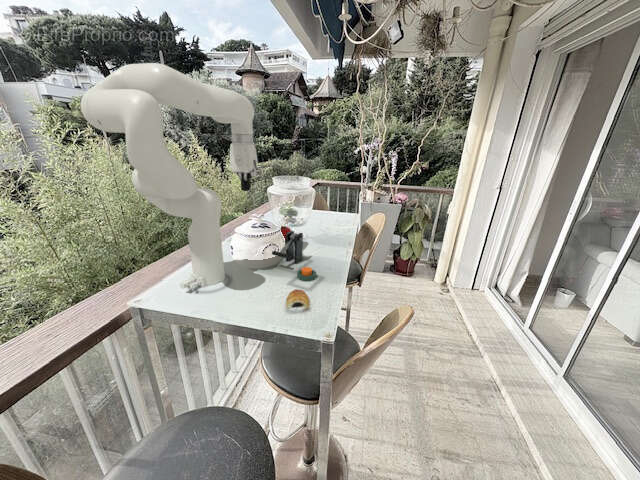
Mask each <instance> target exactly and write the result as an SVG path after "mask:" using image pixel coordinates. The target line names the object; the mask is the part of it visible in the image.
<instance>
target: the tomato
mask: <svg viewBox="0 0 640 480" xmlns="http://www.w3.org/2000/svg"><path fill="white" fill-rule="evenodd" d="M280 227H281V232H282V234H283V236H284V238H285V241H284V242H286V233H288V232H290V231H292V230H291V228H289V227H288V226H287V225H286V226H284V225H282V226H280Z"/></svg>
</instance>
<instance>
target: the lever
mask: <svg viewBox="0 0 640 480" xmlns="http://www.w3.org/2000/svg"><path fill="white" fill-rule="evenodd" d="M297 234H298V233H296V232H294V233H292V235H291V236H290V237H289V238H290V240H289V242H288V243H287V244H286V243H285V245H283V247H282V249H280V250H279V251H276V250H272V252H271V255H272V256H276V257H280V258H284V259H286V258H287V257H288V254H286V250H287V249H288V247H289V246H290V245H291V244H292V243H294V236H295V235H297Z"/></svg>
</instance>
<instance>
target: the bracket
mask: <svg viewBox="0 0 640 480" xmlns="http://www.w3.org/2000/svg"><path fill="white" fill-rule="evenodd" d="M292 233H295V231H294V230H291V231H290V232H288V233H286V241H285V245H286V244H287V243H288V242H289V240H290V238H289V237H290V236H291V235H292ZM296 234H297V235H295V236H294V243H292V244H291V245H290V246H289V247H288V249H287V250H286V251H285V254H288V257H287V258H285V262H290V261H292V260H293V259H294V265H297V264H299V263H301V262H303V253H304V251H303V250H304V249H303V247H304V246H303V245H304V242H303V241H304V240H303V239H304V233H303V232H299V233H296Z"/></svg>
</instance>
